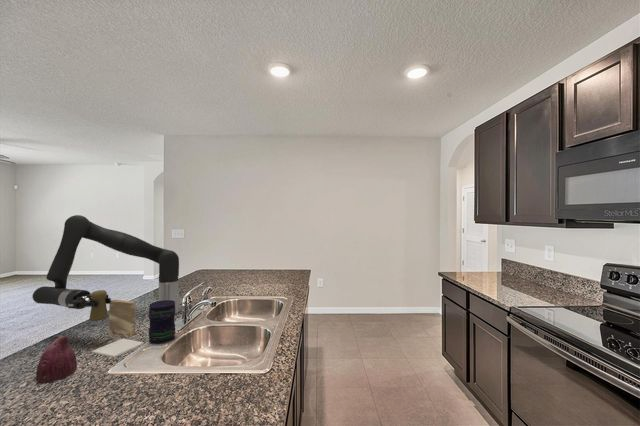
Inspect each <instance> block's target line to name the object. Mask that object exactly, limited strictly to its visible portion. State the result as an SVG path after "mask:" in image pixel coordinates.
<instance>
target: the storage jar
mask: <svg viewBox="0 0 640 426" xmlns="http://www.w3.org/2000/svg"><path fill="white" fill-rule="evenodd" d="M148 308H149V309H148V319H149V328H148V338H149V339H148V343H149V342H150V343H149V344H152V345H161V344H166V343H169V342H172V341H174V340H175V338H176V324H175V322H176V321H175V318H176V317H175V316H176V314H175V301H172V300H164V301H159V300H158V301H155V302H151V303H150V304H149V305H148Z"/></svg>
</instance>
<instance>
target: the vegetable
mask: <svg viewBox="0 0 640 426" xmlns="http://www.w3.org/2000/svg"><path fill="white" fill-rule="evenodd" d="M77 369H78V366H77V356H76V353H75V350H74V349H73V348H72V346H71V345H70V342H69V337H68V336H67V334H66V333H62V334H61V335H59V336H58V337H57V338H56V339H55V340H54V341H53V342H52V343H50V344H49V345H48V346H47V347H46V348H45V349H44V351H43V353H42V355H41V356H40V358H39V361H38V364H37V367H36V375H35V376H36V377H35V380H36V382H37V383H40V384H48V383H51V382H52V383H53V382H55V381H58V380H61V379H65V378H67V377H69V376H71V375H73V374H74V373H75V372H76V371H77Z"/></svg>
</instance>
